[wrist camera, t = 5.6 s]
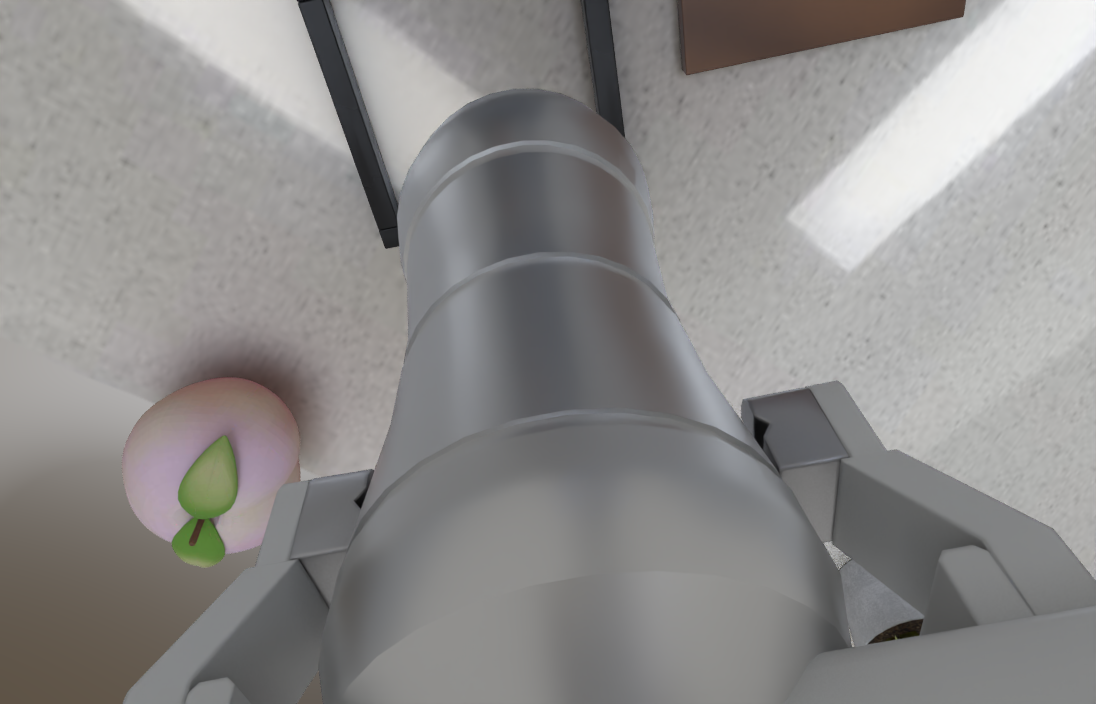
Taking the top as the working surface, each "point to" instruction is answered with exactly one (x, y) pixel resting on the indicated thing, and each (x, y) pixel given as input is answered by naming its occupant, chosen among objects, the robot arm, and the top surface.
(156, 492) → the decorative fruit
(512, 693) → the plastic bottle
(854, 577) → the house plant
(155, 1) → the top surface
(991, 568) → the robot arm
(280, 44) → the top surface
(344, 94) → the black flat square frame
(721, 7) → the trivet
